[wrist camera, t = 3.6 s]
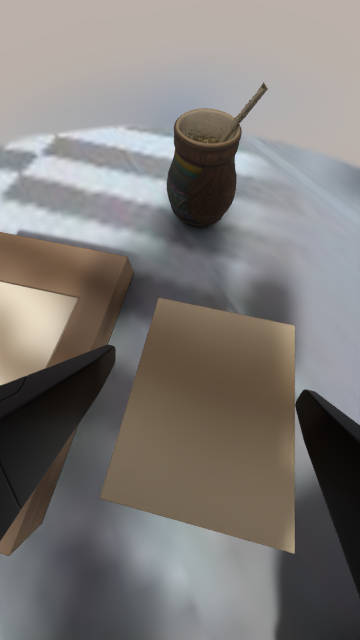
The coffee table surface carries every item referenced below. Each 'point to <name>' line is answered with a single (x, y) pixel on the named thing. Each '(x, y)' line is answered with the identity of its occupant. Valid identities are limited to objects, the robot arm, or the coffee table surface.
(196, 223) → the mate gourd
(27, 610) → the coffee table surface
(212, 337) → the tan rectangular block
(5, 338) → the loading dock
